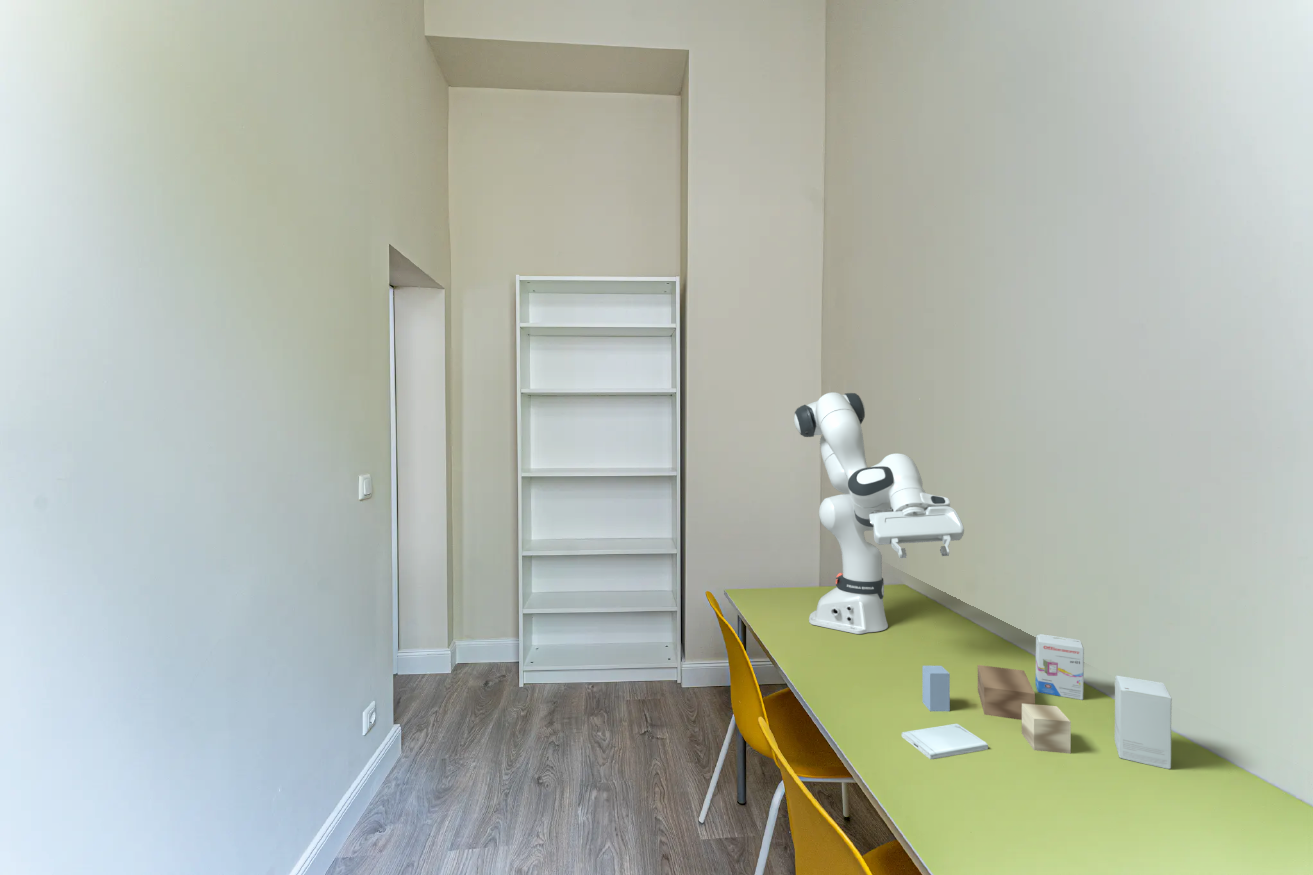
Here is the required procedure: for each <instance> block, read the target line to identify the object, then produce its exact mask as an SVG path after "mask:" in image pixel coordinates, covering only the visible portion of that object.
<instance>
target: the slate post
mask: <svg viewBox="0 0 1313 875" xmlns="http://www.w3.org/2000/svg"><path fill="white" fill-rule="evenodd" d="M950 674H951V673H950V672H949V671H948V670H947V669H946V668H944V667H943V666H942V665H922V703H923V704H924V706H925V707H926V708H927V710H928V711H930V712H950V710H951V706H950V705H951V704H950V702H951V701H950V700H951V699H950V698H951V696H950V691H951V690H950V686H951V684H950V683H951V681H950V679H951V678H950Z"/></svg>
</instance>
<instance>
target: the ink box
mask: <svg viewBox="0 0 1313 875" xmlns="http://www.w3.org/2000/svg"><path fill="white" fill-rule="evenodd" d="M1084 663H1085V647H1084V646H1083V643H1082V641H1081V640H1080V639H1075V638H1068V637H1063V636H1056V635H1050V634H1049V635H1048V634H1043V633H1042V634H1041V633H1039V634H1036V635H1035V687H1036V690H1037V693H1040V694H1046V695H1051V696H1058V697H1063V698H1069V699H1075V700H1080V701H1083V700H1084V680H1085V679H1084V678H1085V677H1084V675H1085V674H1084V672H1085V671H1084V670H1085V669H1084V668H1085V664H1084Z"/></svg>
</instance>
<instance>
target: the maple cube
mask: <svg viewBox="0 0 1313 875" xmlns="http://www.w3.org/2000/svg"><path fill="white" fill-rule="evenodd" d="M1071 723H1072V722H1071V720H1070V719H1069V718H1068V717H1067V716H1066V714H1065V713H1064V712H1063V711H1062V710H1061V709H1060V708H1059V707H1058V706H1057V705H1055V706H1054V705H1046V704H1036V703H1035V704H1022V720H1021V734H1022V736H1023V738H1024V739H1025V740H1026V741H1027V743H1028V745H1030V747H1031V748H1032V750H1033V751H1038V752H1040V751H1041V752H1047V753H1050V752H1051V753H1058V754H1059V753H1060V754H1072V753H1071V745H1072V741H1071V739H1072V738H1071V734H1072V733H1071V730H1072V728H1071V727H1072V724H1071Z"/></svg>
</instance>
